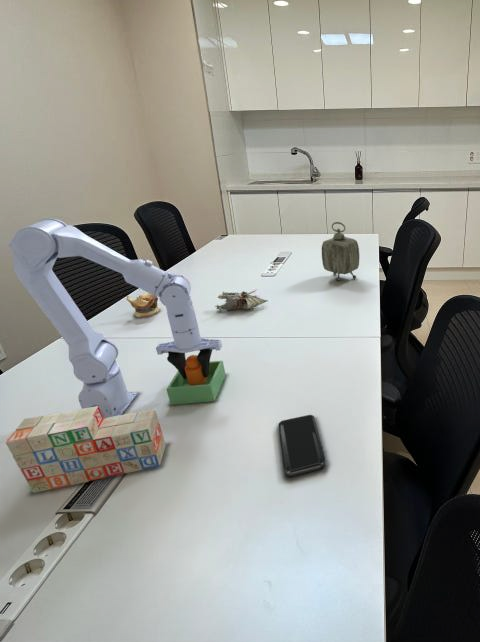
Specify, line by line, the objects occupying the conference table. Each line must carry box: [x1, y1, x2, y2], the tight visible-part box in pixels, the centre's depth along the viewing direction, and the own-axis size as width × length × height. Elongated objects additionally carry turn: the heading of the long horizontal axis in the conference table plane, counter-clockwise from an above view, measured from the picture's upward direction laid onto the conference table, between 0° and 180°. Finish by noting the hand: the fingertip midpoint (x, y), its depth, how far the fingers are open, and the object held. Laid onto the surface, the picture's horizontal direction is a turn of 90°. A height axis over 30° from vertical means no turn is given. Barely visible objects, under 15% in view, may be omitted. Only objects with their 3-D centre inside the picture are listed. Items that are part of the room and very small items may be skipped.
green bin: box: [166, 360, 227, 406], centre depth 97 cm, size 11×10×5 cm
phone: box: [278, 414, 327, 478], centre depth 79 cm, size 8×1×15 cm
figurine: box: [214, 288, 269, 311], centre depth 143 cm, size 20×6×17 cm
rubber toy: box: [185, 354, 207, 386], centre depth 96 cm, size 4×4×7 cm
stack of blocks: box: [5, 406, 166, 494], centre depth 73 cm, size 21×6×12 cm, turn 105°
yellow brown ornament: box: [126, 292, 160, 319], centre depth 140 cm, size 12×10×8 cm
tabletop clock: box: [321, 221, 360, 281], centre depth 165 cm, size 14×9×25 cm, turn 58°
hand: (196, 375), depth 96 cm, fingers closed on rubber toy, 4 cm apart
